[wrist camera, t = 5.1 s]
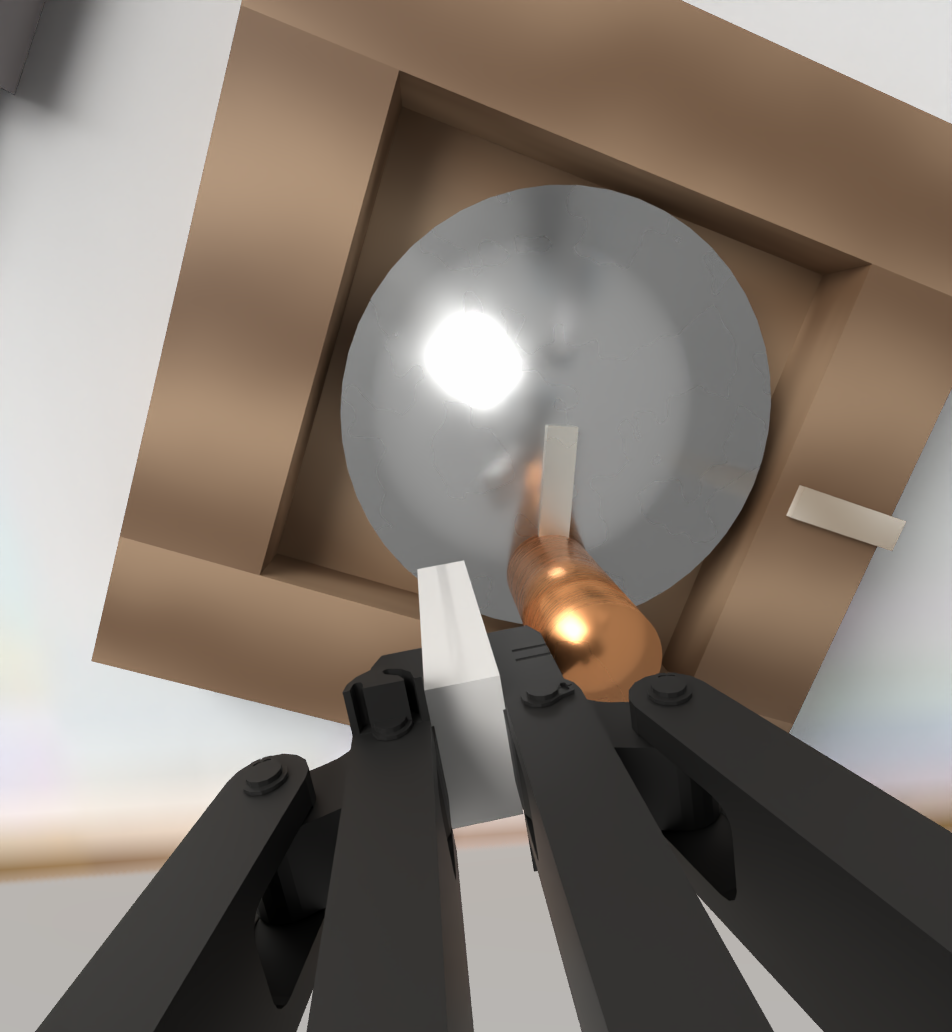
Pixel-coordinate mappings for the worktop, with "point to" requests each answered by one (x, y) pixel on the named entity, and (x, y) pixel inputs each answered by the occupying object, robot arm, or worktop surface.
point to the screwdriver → (16, 38)
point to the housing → (458, 185)
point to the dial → (559, 415)
